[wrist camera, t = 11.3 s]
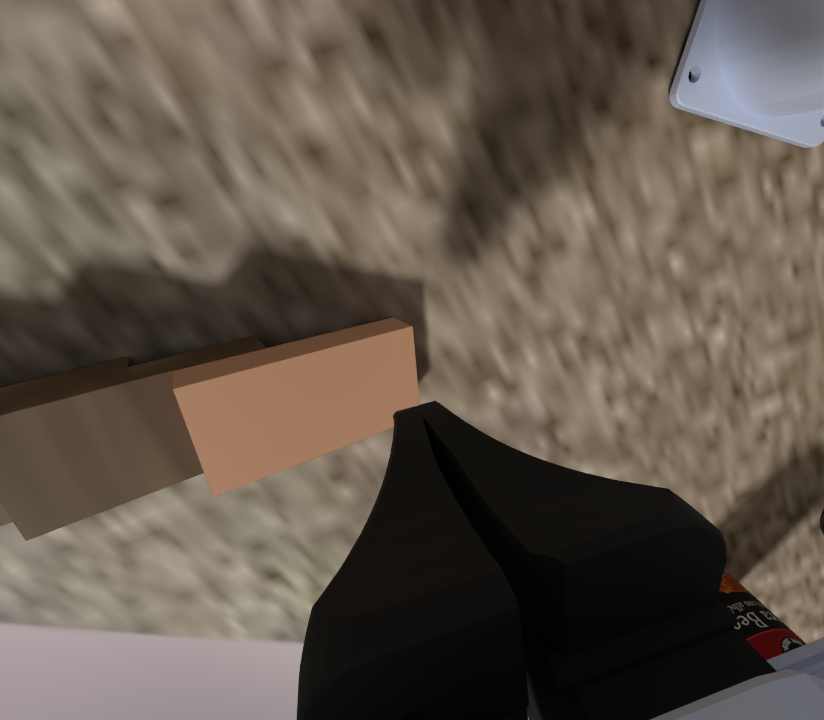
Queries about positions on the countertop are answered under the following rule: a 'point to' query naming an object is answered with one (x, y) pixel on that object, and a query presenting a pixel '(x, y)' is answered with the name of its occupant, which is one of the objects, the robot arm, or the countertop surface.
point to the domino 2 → (296, 400)
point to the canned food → (757, 621)
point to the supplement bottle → (822, 523)
